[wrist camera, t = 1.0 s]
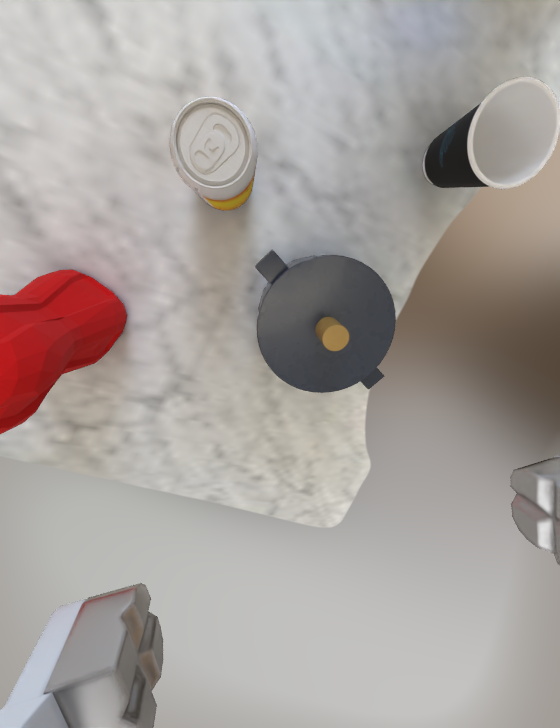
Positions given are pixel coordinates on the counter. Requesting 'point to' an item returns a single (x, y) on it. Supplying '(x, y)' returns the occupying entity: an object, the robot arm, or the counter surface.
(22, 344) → the water bottle
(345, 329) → the pot lid
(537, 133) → the dixie cup
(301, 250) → the counter surface
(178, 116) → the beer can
